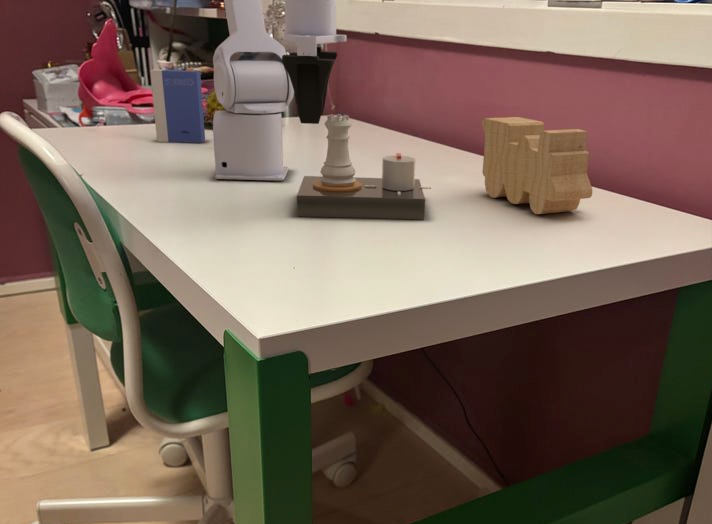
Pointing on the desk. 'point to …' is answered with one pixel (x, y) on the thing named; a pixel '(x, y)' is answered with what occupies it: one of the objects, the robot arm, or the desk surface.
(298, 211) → the hob
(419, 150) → the desk surface
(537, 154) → the toy train
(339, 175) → the rook chess piece
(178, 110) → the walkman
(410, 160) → the hob knob
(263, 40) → the robot arm
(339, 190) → the burner
